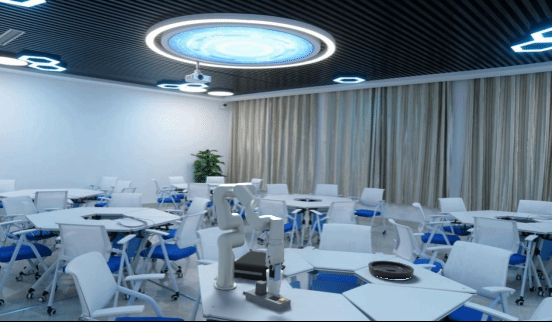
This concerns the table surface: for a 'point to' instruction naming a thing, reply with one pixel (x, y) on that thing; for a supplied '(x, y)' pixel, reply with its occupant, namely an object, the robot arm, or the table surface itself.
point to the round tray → (390, 269)
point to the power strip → (267, 297)
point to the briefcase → (252, 266)
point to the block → (276, 272)
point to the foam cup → (274, 284)
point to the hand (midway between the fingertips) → (274, 276)
